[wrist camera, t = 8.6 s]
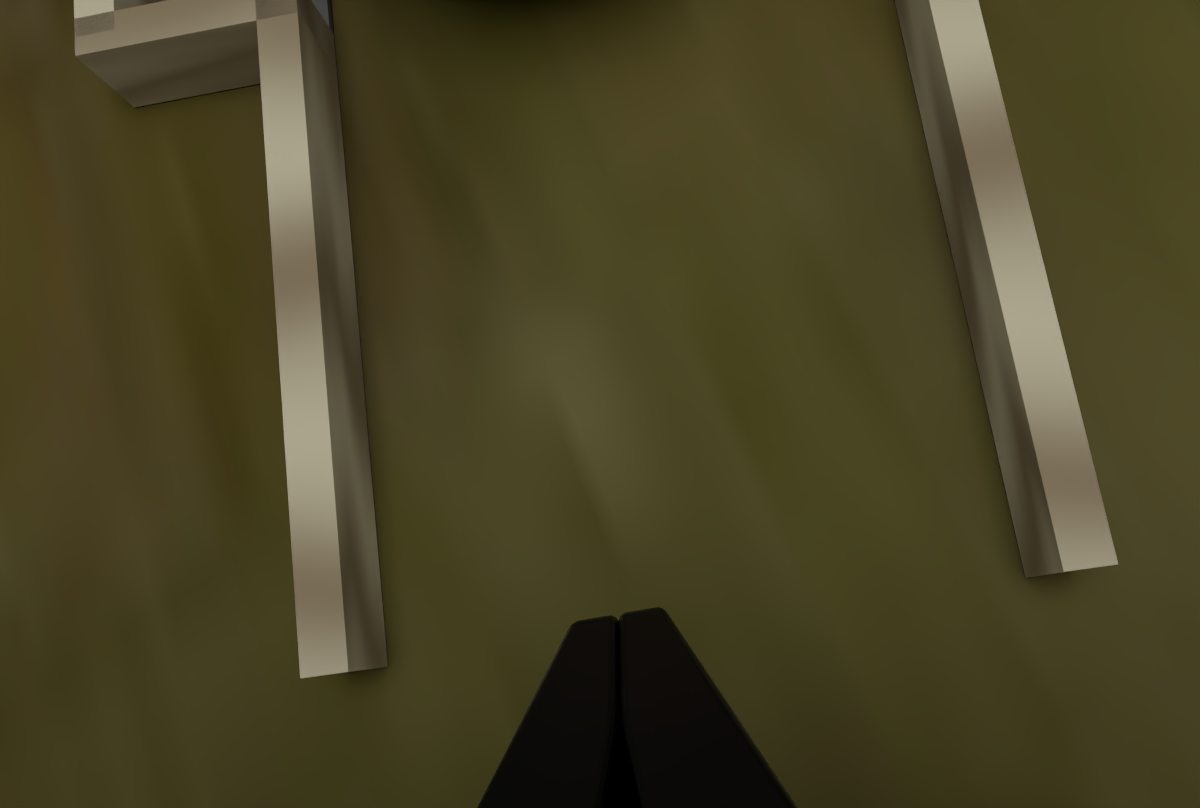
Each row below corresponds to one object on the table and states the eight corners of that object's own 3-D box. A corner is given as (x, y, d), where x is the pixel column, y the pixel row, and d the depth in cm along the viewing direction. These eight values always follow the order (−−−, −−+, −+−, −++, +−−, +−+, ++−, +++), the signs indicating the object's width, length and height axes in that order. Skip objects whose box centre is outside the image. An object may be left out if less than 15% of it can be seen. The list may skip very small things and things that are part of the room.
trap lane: (1295, 540, 21) (1423, 521, 17) (155, 699, 23) (41, 714, 19) (996, -494, 28) (1041, -678, 24) (119, -297, 30) (29, -436, 26)
